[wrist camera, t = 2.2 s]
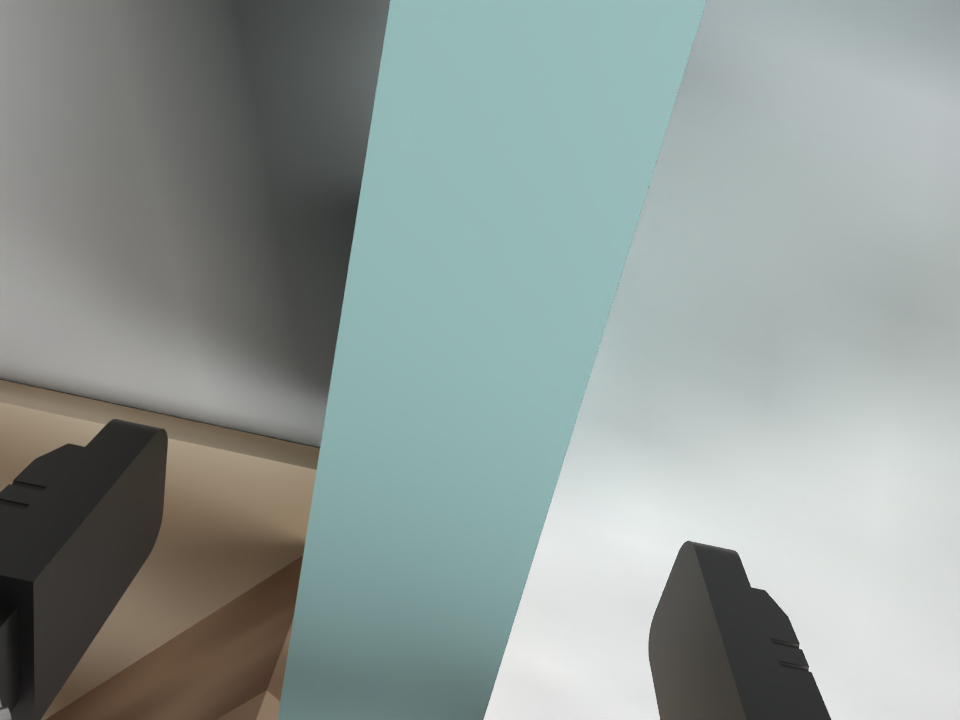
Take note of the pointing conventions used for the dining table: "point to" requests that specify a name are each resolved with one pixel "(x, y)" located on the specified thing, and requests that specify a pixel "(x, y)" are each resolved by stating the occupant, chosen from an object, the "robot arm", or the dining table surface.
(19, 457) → the jig
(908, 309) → the dining table surface
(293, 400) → the dining table surface
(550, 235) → the teal plate
